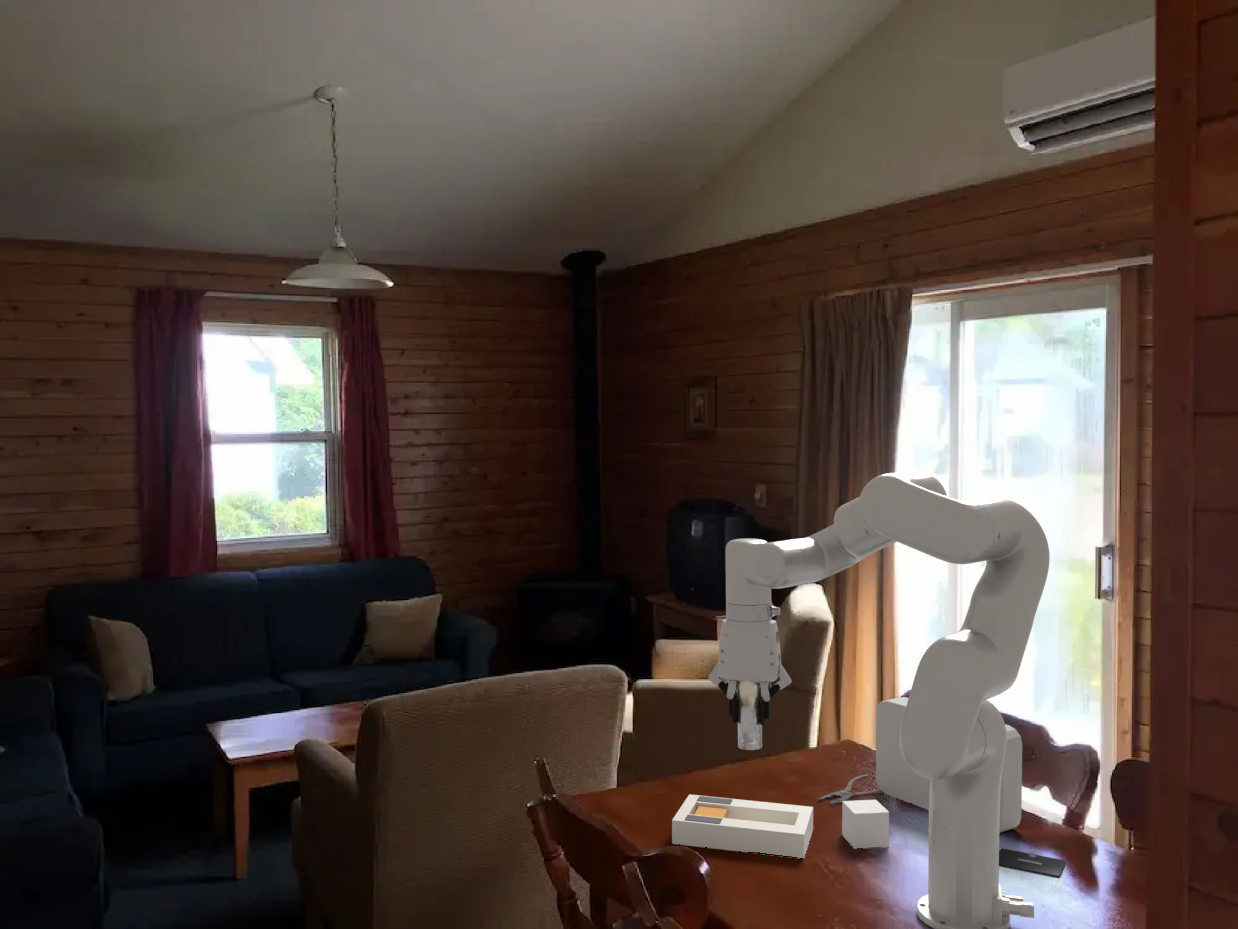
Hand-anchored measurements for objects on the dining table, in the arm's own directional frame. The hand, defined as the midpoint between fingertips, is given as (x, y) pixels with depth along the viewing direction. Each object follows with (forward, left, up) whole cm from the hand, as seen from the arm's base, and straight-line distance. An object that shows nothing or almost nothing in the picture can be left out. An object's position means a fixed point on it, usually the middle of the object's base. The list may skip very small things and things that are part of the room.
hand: (749, 721), depth 176 cm
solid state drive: (-44, -5, -21) cm, 49 cm away
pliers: (-17, -31, -21) cm, 41 cm away
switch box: (+1, -3, -21) cm, 21 cm away
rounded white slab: (-32, -26, -21) cm, 46 cm away
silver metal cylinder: (0, 0, -4) cm, 4 cm away
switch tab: (+7, -3, -20) cm, 21 cm away
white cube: (-19, -7, -21) cm, 29 cm away
